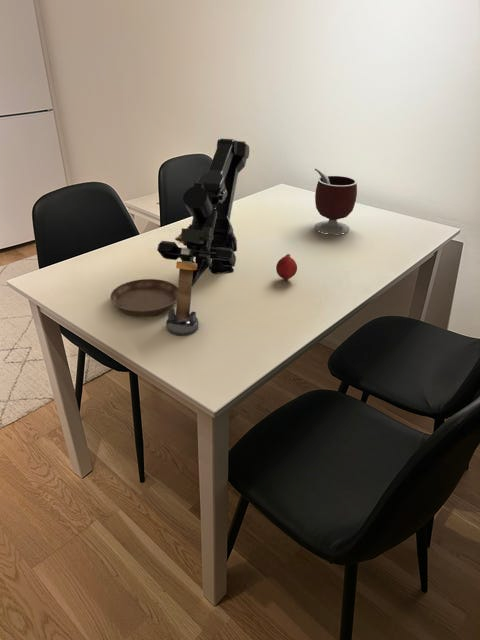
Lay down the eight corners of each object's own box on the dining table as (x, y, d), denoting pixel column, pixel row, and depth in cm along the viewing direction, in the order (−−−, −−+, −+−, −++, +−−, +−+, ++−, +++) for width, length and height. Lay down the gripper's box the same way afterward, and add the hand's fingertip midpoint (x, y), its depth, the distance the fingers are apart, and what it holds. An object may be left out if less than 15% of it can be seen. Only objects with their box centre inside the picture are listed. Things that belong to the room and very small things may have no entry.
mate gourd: (357, 226, 177) (365, 170, 167) (342, 239, 167) (350, 179, 157) (318, 218, 184) (323, 163, 174) (301, 229, 174) (306, 172, 164)
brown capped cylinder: (176, 314, 120) (180, 260, 118) (195, 317, 119) (199, 262, 117) (169, 317, 115) (173, 260, 113) (188, 320, 114) (193, 263, 112)
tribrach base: (173, 317, 122) (172, 302, 120) (202, 321, 121) (202, 306, 119) (161, 333, 116) (160, 318, 114) (192, 337, 114) (192, 322, 112)
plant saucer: (142, 282, 139) (141, 272, 137) (194, 298, 131) (193, 288, 129) (96, 309, 126) (95, 298, 124) (151, 329, 118) (150, 318, 116)
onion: (282, 286, 137) (284, 259, 133) (271, 277, 141) (273, 251, 137) (299, 282, 139) (302, 255, 135) (288, 273, 144) (290, 248, 140)
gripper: (157, 208, 117) (142, 270, 114) (233, 216, 114) (220, 280, 110) (170, 229, 128) (157, 285, 124) (240, 236, 124) (229, 295, 121)
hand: (190, 286), depth 120 cm, fingers closed
